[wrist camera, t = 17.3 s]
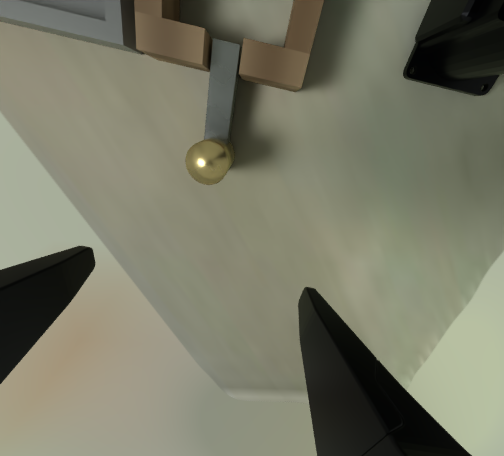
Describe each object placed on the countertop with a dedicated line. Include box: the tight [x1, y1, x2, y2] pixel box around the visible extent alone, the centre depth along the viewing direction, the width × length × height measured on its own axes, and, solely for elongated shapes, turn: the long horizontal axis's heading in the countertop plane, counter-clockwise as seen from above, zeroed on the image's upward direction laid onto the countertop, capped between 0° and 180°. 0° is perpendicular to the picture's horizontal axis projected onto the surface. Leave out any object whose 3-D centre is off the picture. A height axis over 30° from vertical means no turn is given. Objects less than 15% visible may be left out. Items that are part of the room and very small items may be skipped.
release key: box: [186, 38, 242, 185], centre depth 16 cm, size 3×9×4 cm, turn 169°
